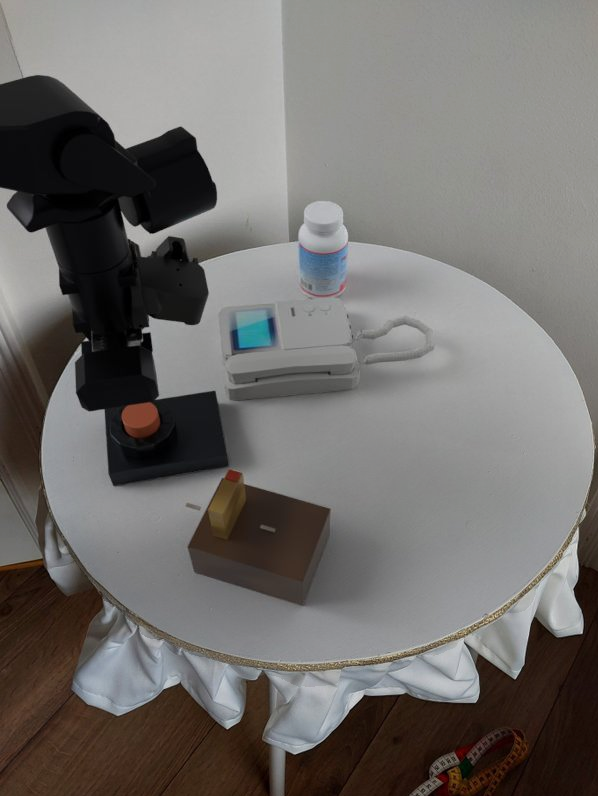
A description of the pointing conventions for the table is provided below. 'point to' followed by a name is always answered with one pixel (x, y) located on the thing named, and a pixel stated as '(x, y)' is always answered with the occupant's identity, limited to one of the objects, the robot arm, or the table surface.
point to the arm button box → (168, 440)
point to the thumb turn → (227, 504)
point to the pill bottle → (322, 251)
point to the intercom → (298, 348)
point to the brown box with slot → (265, 545)
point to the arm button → (141, 420)
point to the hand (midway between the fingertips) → (130, 383)
